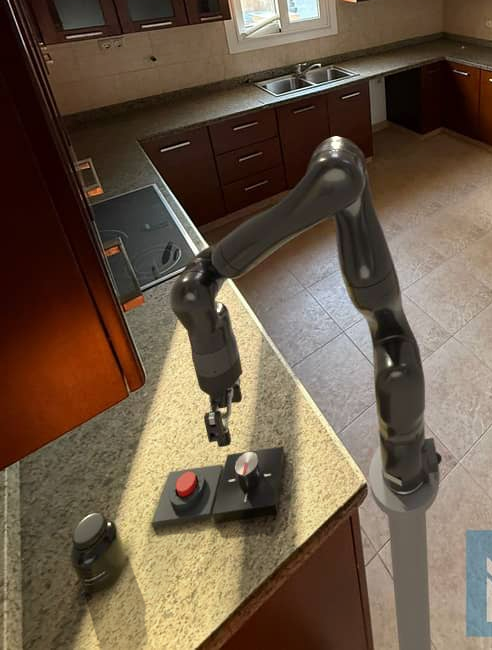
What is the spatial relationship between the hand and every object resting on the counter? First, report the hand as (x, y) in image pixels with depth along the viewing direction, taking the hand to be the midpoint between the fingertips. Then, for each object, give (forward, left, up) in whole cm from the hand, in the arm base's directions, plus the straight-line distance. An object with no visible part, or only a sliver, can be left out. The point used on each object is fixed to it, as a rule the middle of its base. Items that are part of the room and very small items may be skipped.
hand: (231, 421), depth 83 cm
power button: (+11, 0, -17) cm, 20 cm away
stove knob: (-1, 0, -17) cm, 17 cm away
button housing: (+11, 0, -20) cm, 23 cm away
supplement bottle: (+23, +10, -20) cm, 32 cm away
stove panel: (-1, 0, -20) cm, 20 cm away
